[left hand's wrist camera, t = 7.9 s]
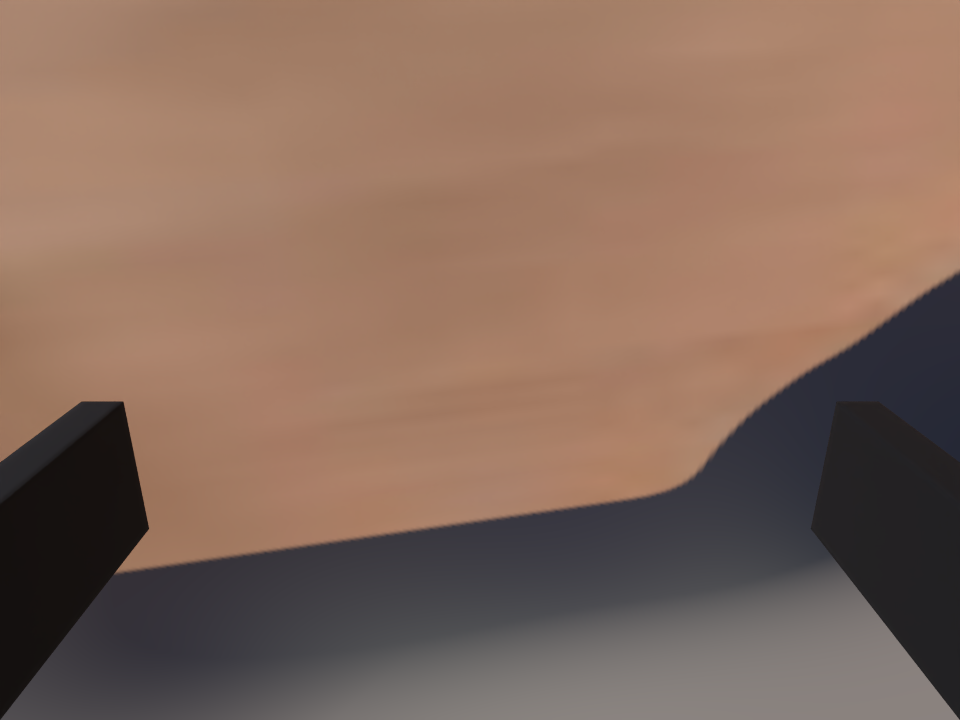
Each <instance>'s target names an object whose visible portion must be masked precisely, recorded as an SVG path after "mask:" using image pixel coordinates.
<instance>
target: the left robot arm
mask: <svg viewBox="0 0 960 720" xmlns="http://www.w3.org/2000/svg"><path fill="white" fill-rule="evenodd" d="M148 529H149V526H148V521H147V516H146V511H145V506H144V501H143V496H142V491H141V487H140V482H139V477H138V472H137V467H136V462H135V457H134V452H133V447H132V442H131V437H130V432H129V427H128V422H127V417H126V412H125V407H124V402H81V403H79V404H78V405H77V406H75V407H74V408H72V409H71V410H70V411H68V412H67V413H66V414H64V415H63V416H62V417H60V418H59V419H58V420H56V421H55V422H54V423H52V424H51V425H50V426H48V427H47V428H46V429H44V430H43V431H42V432H40V433H39V434H38V435H36V436H35V437H34V438H32V439H31V440H30V441H28V442H27V443H26V444H24V445H23V446H22V447H20V448H19V449H18V450H16V451H15V452H14V453H12V454H11V455H10V456H8V457H7V458H6V459H4V460H3V461H2V462H0V719H1V718H2V717H3V716H4V714H5V713H6V712H7V710H8V709H9V708H10V707H11V705H12V704H13V703H14V701H15V700H16V699H17V698H18V696H19V695H20V694H21V692H22V691H23V690H24V689H25V687H26V686H27V685H28V683H29V682H30V681H31V680H32V678H33V677H34V676H35V674H36V673H37V672H38V671H39V669H40V668H41V667H42V665H43V664H44V663H45V662H46V660H47V659H48V658H49V656H50V655H51V654H52V653H53V651H54V650H55V649H56V648H57V646H58V645H59V644H60V642H61V641H62V640H63V639H64V637H65V636H66V635H67V633H68V632H69V631H70V630H71V628H72V627H73V626H74V624H75V623H76V622H77V621H78V619H79V618H80V617H81V615H82V614H83V613H84V612H85V610H86V609H87V608H88V606H89V605H90V604H91V603H92V601H93V600H94V599H95V597H96V596H97V595H98V594H99V592H100V591H101V590H102V588H103V587H104V586H105V585H106V583H107V582H108V581H109V579H110V578H111V577H112V576H113V574H114V573H115V572H116V570H117V569H118V568H119V567H120V565H121V564H122V563H123V562H124V560H125V559H126V558H127V556H128V555H129V554H130V553H131V551H132V550H133V549H134V547H135V546H136V545H137V544H138V542H139V541H140V540H141V538H142V537H143V536H144V535H145V533H146V532H147V531H148ZM811 529H812V531H813V532H814V533H815V535H816V536H817V537H818V538H819V540H820V541H821V542H822V543H823V545H824V546H825V547H826V549H827V550H828V551H829V552H830V554H831V555H832V556H833V558H834V559H835V560H836V562H837V563H838V564H839V565H840V567H841V568H842V569H843V570H844V572H845V573H846V574H847V576H848V577H849V578H850V579H851V581H852V582H853V583H854V585H855V586H856V587H857V588H858V590H859V591H860V592H861V594H862V595H863V596H864V597H865V599H866V600H867V601H868V603H869V604H870V605H871V606H872V608H873V609H874V610H875V612H876V613H877V614H878V615H879V617H880V618H881V619H882V621H883V622H884V623H885V624H886V626H887V627H888V628H889V629H890V631H891V632H892V633H893V635H894V636H895V637H896V639H897V640H898V641H899V642H900V644H901V645H902V646H903V647H904V649H905V650H906V651H907V653H908V654H909V655H910V656H911V658H912V659H913V660H914V662H915V663H916V664H917V665H918V667H919V668H920V669H921V671H922V672H923V673H924V674H925V676H926V677H927V678H928V680H929V681H930V682H931V683H932V685H933V686H934V687H935V689H936V690H937V691H938V692H939V694H940V695H941V696H942V698H943V699H944V700H945V701H946V703H947V704H948V705H949V707H950V708H951V709H952V710H953V712H954V713H955V714H956V715H957V717H958V718H959V719H960V462H958V461H957V460H956V459H954V458H953V457H952V456H950V455H949V454H948V453H946V452H945V451H944V450H942V449H941V448H940V447H938V446H937V445H936V444H934V443H933V442H932V441H930V440H929V439H928V438H926V437H925V436H924V435H922V434H921V433H920V432H918V431H917V430H916V429H914V428H913V427H912V426H910V425H909V424H907V423H906V422H905V421H904V420H902V419H901V418H900V417H898V416H897V415H895V414H894V413H893V412H891V411H890V410H889V409H887V408H886V407H885V406H883V405H882V404H881V403H879V402H836V408H835V412H834V417H833V422H832V427H831V432H830V437H829V442H828V447H827V452H826V457H825V462H824V467H823V472H822V477H821V482H820V487H819V491H818V496H817V501H816V506H815V511H814V516H813V521H812V526H811Z"/></svg>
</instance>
